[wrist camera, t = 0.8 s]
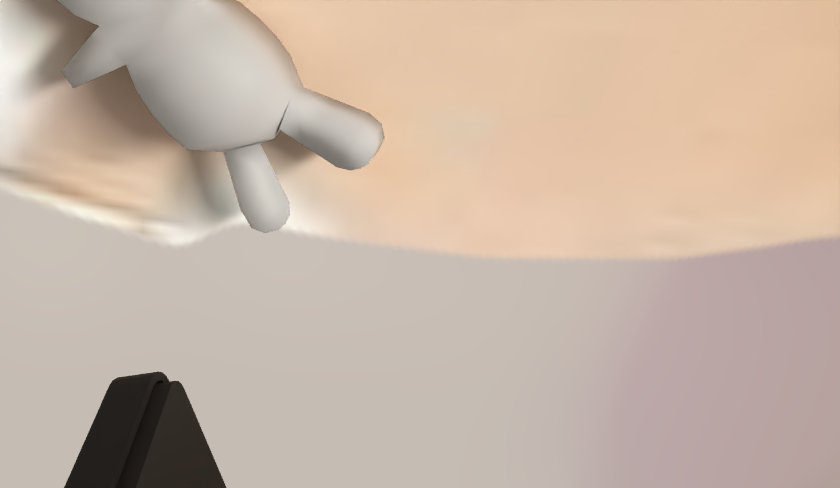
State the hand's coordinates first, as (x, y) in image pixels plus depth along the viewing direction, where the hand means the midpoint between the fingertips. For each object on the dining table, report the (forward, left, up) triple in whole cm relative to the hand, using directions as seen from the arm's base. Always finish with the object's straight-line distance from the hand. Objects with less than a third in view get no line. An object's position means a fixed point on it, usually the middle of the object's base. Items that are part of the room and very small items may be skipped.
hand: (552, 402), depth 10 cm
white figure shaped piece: (+7, -8, -27) cm, 29 cm away
